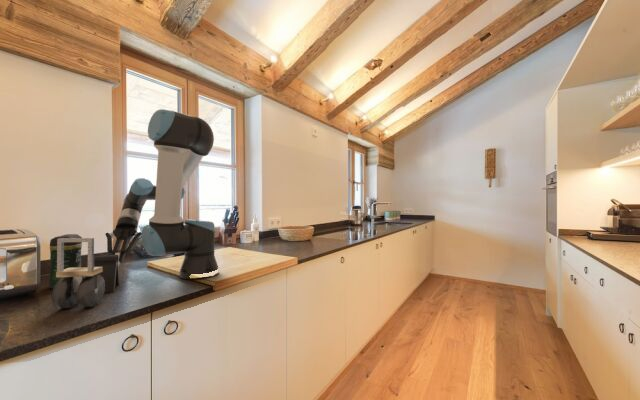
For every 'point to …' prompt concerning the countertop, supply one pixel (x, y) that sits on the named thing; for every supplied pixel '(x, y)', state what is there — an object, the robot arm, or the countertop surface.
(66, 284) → the trolley
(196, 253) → the robot arm
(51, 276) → the coffee jar
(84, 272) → the trolley deck
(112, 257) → the dark grey bin
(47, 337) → the countertop surface
